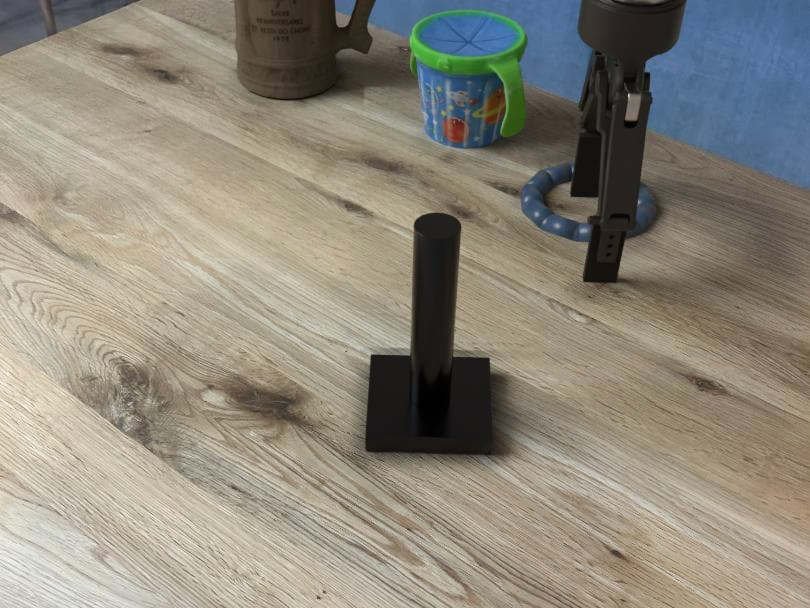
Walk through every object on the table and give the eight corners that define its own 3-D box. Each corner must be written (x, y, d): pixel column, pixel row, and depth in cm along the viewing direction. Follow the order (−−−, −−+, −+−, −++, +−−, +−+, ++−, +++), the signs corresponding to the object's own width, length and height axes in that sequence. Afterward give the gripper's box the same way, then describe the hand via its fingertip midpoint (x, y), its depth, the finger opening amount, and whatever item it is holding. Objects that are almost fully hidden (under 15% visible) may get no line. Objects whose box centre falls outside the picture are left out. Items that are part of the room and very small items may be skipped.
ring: (644, 180, 99) (648, 160, 98) (661, 253, 91) (666, 233, 90) (516, 176, 99) (518, 156, 98) (523, 249, 91) (525, 229, 90)
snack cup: (379, 113, 107) (379, 9, 99) (469, 92, 110) (476, -10, 102) (454, 188, 98) (460, 80, 90) (550, 162, 101) (564, 56, 93)
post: (488, 372, 80) (506, 188, 69) (491, 455, 75) (512, 269, 63) (370, 369, 81) (369, 185, 69) (365, 451, 75) (362, 265, 63)
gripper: (570, -82, 84) (538, 167, 100) (601, 59, 68) (557, 329, 84) (664, -79, 84) (618, 170, 100) (718, 63, 68) (651, 332, 84)
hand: (590, 243), depth 92 cm, fingers open, 12 cm apart
